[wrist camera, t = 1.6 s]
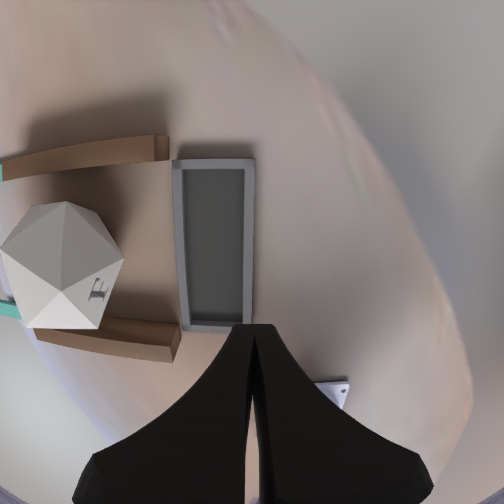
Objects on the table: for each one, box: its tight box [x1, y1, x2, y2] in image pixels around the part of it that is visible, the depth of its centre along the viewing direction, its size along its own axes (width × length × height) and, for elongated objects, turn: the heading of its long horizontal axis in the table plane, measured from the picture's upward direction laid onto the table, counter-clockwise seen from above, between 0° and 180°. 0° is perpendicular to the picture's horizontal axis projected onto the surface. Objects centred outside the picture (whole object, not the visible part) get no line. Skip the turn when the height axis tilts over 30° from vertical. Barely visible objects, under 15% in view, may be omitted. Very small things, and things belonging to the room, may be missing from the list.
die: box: [0, 201, 125, 329], centre depth 16 cm, size 8×9×10 cm
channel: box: [2, 135, 181, 363], centre depth 18 cm, size 15×13×3 cm
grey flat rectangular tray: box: [172, 159, 255, 334], centre depth 19 cm, size 12×5×1 cm, turn 179°
